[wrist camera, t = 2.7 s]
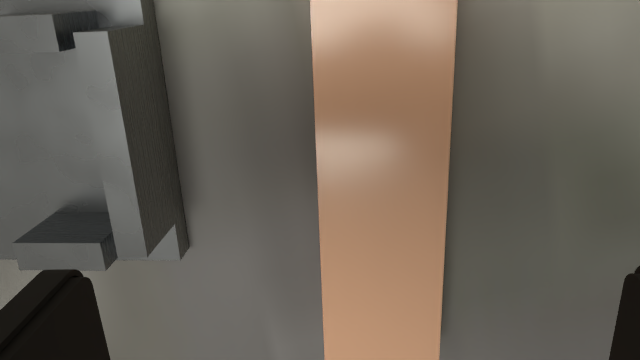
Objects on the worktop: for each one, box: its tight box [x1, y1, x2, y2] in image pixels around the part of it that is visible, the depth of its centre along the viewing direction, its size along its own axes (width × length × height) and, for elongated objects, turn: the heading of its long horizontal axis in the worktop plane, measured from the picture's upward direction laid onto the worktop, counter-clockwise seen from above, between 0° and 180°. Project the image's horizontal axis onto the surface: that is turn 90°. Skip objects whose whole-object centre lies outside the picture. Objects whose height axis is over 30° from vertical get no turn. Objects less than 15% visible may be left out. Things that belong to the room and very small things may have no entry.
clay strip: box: [310, 0, 458, 360], centre depth 18 cm, size 4×14×3 cm, turn 2°
